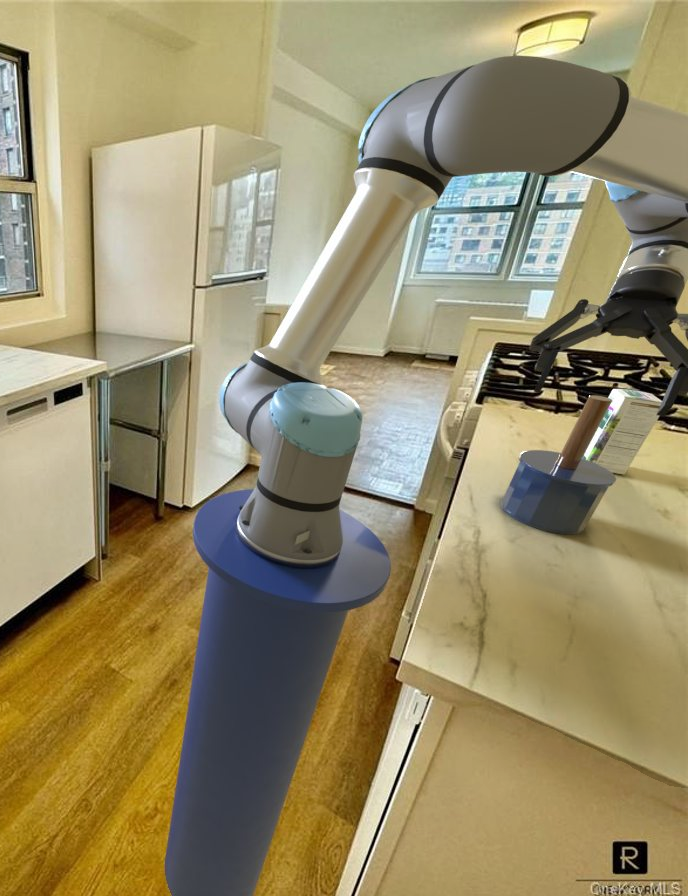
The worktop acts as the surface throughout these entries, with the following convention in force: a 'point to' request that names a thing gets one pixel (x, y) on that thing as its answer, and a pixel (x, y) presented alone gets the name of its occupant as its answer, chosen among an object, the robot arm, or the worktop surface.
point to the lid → (575, 451)
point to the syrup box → (623, 429)
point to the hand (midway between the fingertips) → (597, 399)
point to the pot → (550, 502)
